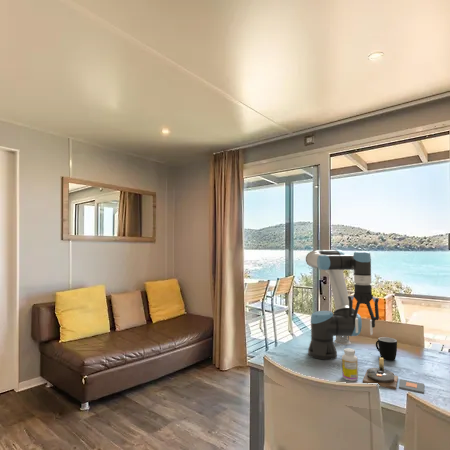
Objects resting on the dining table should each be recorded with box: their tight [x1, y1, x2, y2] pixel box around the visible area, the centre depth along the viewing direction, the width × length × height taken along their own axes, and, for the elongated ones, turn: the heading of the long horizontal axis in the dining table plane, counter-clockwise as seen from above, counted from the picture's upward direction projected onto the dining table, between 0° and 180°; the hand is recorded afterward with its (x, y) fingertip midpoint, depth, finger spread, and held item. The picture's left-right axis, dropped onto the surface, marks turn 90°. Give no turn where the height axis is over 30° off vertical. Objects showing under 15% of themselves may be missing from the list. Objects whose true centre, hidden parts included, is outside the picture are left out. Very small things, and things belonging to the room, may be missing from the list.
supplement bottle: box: [341, 347, 359, 382], centre depth 146 cm, size 7×7×13 cm
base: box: [362, 371, 399, 390], centre depth 143 cm, size 13×13×1 cm
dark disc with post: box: [366, 356, 395, 382], centre depth 144 cm, size 11×11×7 cm
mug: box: [375, 336, 398, 362], centre depth 171 cm, size 12×9×10 cm
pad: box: [398, 378, 425, 394], centre depth 137 cm, size 9×9×1 cm
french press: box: [333, 336, 351, 346], centre depth 199 cm, size 10×12×25 cm
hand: (364, 333), depth 151 cm, fingers open, 6 cm apart
